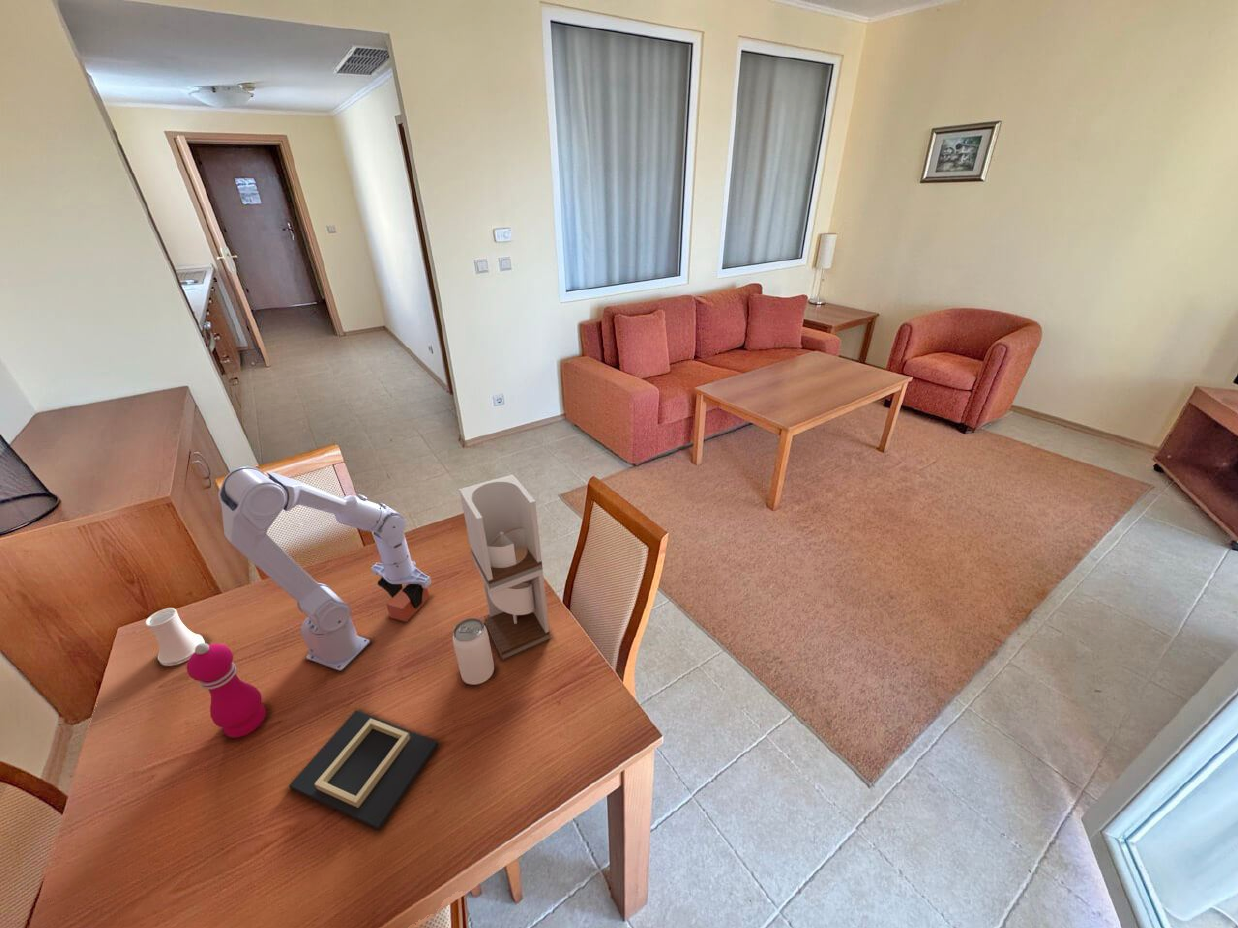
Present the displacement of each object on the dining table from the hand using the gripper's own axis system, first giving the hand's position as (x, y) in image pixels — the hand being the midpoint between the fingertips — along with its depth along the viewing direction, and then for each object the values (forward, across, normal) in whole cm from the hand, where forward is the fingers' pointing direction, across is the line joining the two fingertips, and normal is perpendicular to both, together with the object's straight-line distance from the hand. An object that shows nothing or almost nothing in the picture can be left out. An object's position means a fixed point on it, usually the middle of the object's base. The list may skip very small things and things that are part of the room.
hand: (409, 602), depth 114 cm
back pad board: (+1, -18, +32) cm, 37 cm away
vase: (+2, +37, +26) cm, 45 cm away
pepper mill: (+2, +9, +33) cm, 34 cm away
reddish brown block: (+1, 0, 0) cm, 1 cm away
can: (+2, -25, +10) cm, 27 cm away
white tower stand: (+2, -27, -2) cm, 27 cm away
